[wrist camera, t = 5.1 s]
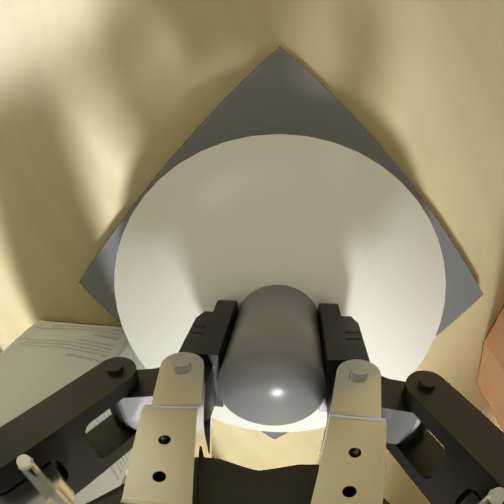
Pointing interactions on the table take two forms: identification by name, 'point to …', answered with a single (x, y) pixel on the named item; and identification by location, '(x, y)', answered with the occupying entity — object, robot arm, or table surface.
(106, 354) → the skincare box
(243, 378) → the lid
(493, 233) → the table surface
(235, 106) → the mat
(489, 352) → the bowl
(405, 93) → the table surface
